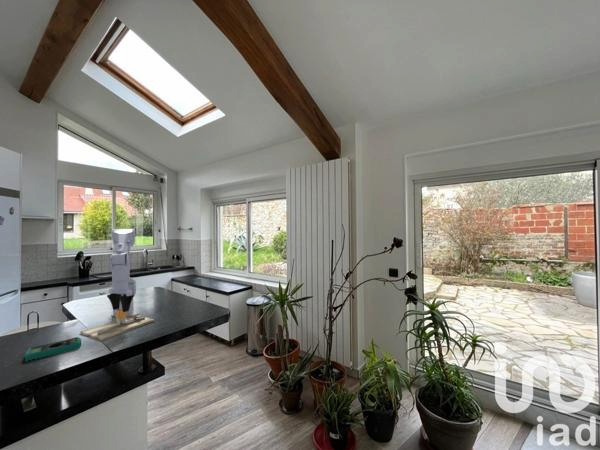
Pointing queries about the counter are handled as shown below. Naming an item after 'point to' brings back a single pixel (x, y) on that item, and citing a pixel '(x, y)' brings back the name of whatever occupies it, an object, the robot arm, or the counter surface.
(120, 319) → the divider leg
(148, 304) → the counter surface
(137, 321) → the hole gauge board
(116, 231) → the robot arm
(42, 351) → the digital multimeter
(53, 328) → the counter surface
